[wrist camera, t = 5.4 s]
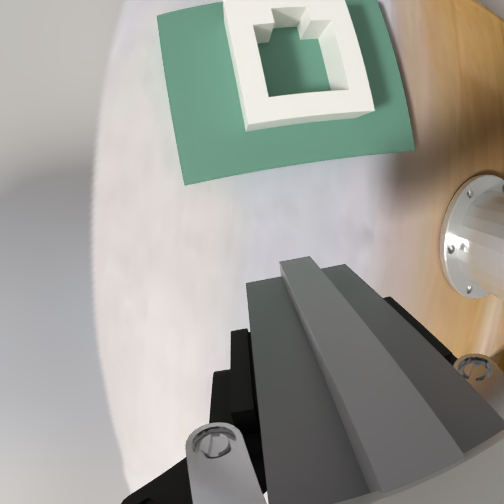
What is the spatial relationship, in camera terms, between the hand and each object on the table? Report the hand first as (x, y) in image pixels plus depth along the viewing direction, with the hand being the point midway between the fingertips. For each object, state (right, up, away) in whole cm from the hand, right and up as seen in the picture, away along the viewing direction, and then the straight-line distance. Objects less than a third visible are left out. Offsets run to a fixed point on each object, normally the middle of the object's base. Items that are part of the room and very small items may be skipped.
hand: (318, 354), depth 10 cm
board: (+1, +17, +11) cm, 20 cm away
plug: (0, +1, +3) cm, 3 cm away
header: (+1, +17, +10) cm, 19 cm away
